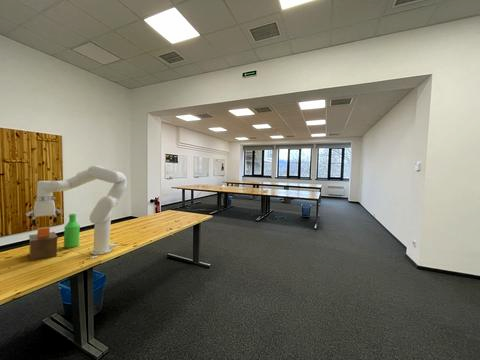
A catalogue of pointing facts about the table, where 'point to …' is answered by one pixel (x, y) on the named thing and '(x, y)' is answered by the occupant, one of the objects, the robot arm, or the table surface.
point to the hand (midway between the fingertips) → (44, 224)
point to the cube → (43, 232)
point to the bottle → (71, 232)
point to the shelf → (43, 246)
